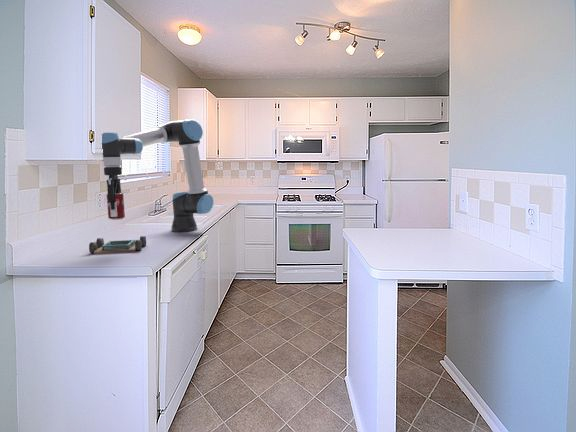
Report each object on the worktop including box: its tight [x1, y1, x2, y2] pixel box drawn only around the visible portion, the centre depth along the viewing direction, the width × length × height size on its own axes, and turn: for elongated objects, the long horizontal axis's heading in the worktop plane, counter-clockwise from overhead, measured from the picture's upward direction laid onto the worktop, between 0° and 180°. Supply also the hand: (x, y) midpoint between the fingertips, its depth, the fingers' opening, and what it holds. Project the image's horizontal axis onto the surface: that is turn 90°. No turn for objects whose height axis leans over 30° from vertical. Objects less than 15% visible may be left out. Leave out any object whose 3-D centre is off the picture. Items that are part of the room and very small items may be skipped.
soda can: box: [106, 192, 126, 221], centre depth 185 cm, size 7×7×12 cm
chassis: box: [88, 235, 147, 255], centre depth 187 cm, size 16×22×5 cm
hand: (116, 215), depth 185 cm, fingers closed on soda can, 7 cm apart
